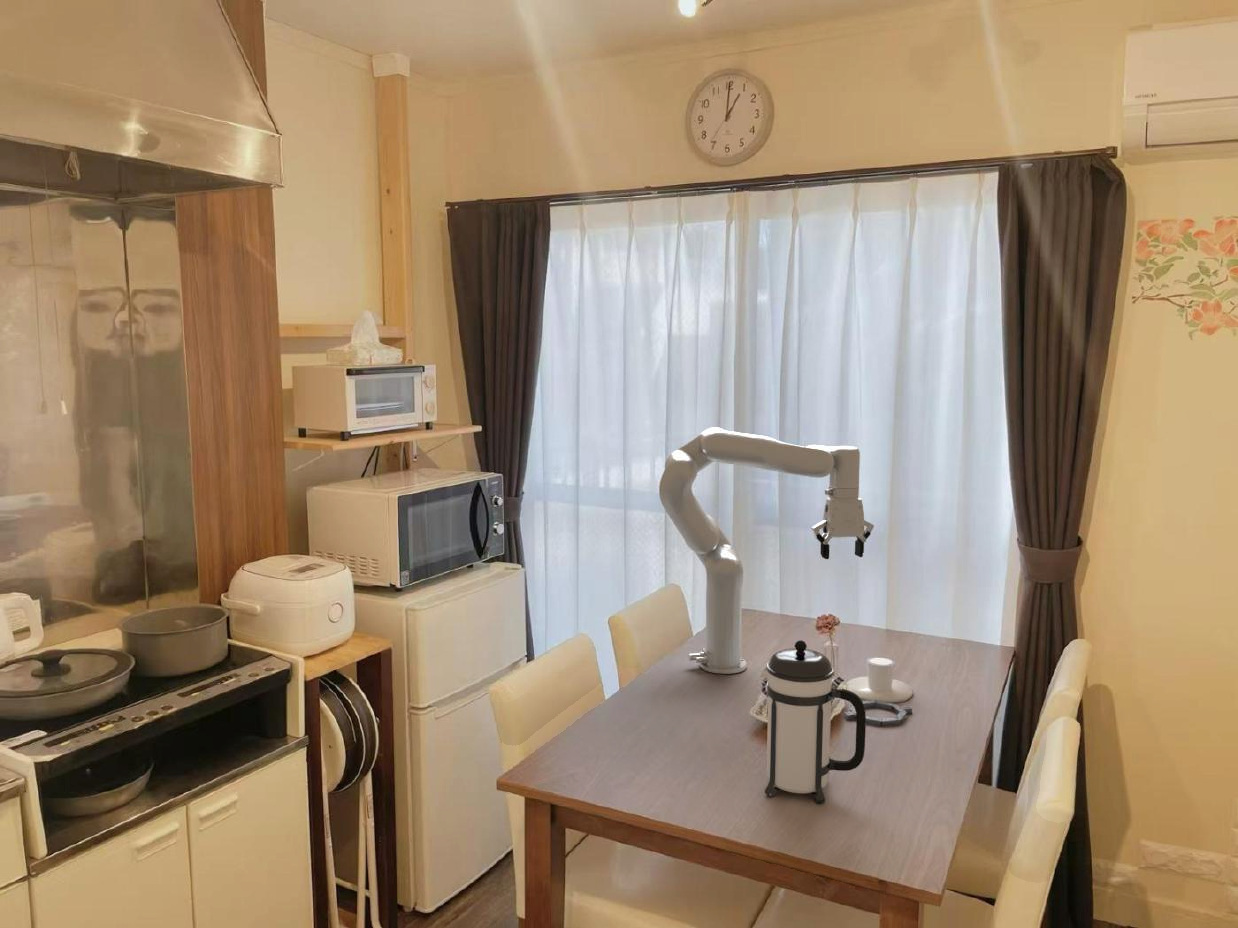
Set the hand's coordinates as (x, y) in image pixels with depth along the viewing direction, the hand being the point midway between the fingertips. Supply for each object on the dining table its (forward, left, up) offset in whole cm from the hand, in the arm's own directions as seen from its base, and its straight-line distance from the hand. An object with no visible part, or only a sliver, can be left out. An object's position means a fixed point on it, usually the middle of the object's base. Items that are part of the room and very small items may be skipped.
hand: (842, 557), depth 247 cm
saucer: (+2, -18, -30) cm, 35 cm away
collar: (-6, -32, -30) cm, 44 cm away
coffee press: (-38, -61, -31) cm, 78 cm away
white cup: (+2, -18, -30) cm, 35 cm away
